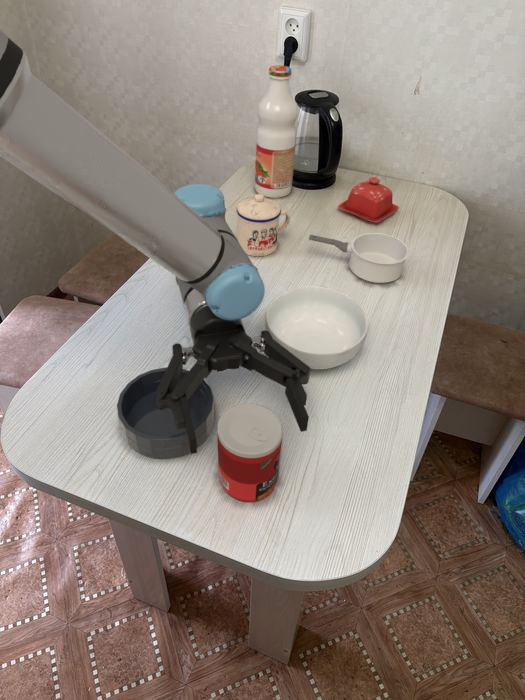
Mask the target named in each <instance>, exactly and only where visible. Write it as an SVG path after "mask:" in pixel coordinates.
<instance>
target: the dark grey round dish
mask: <svg viewBox="0 0 525 700" xmlns="http://www.w3.org/2000/svg"><path fill="white" fill-rule="evenodd" d="M167 367H168V366H167ZM167 367H160V368H154V369H150V370H148V371H146V372H143V373H140V374H138V375H137V376H135V377H134V378H133V379H131V380H130V381H129V382H128V383H127V384H126V385H125V386H124V388H123V389H122V391H121V392H120V393H119V396H118V400H117V403H116V410H117V417H118V422H119V425H120V430H121V434H122V436H123V437H124V440H125V442H126V444H127V445H128V446H129V447H130V448H131V449H132V450H134V451H135V452H136V453H137V454H139V455H142V456H144V457H146V458H150V459H155V460H171V459H177V458H181V457H184V456H187V455H189V454H191V452H190V447H189V443H188V438H187V433H186V428H184V429H177V428H176V426H175V421H174V416H173V412H172V410H171V409H169V408H166V409H164V410H159V409H157V404H156V398H155V393H156V391H157V388H158V386H159V384H160V382H161V380H162V378H163V376H164V373H165V371H166V369H167ZM189 371H190V370H188V369H184V368H183V370H182V372H181V375H180V377H179V379H178V382H177V384H176V386H175V388H176V387H177V386H178V385H179V383H180V382H181V381H182V380H183V378H184V377H185V376H186V375H187V373H188V372H189ZM174 390H175V389H174ZM188 405H189V409H190V414H191V418H192V423H193V427H194V432H195V436H196V444H197V449H199V448H200V447H201V446H202V445H203V444H204V443H205V442H206V441H207V439H208V438H209V436H210V435H211V433H212V430H213V428H214V424H215V423H214V422H215V421H214V420H215V403H214V394H213V392H212V388H211V386H210V385H209V384H208V383H207V381H206V380H205V379H204V380H203V381H202V382H201V384H200V385H199V386H198V388H197V389H196V390H195V392H194V393H193V394H192V396H191V397H190V398H189V400H188Z"/></svg>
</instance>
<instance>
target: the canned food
mask: <svg viewBox="0 0 525 700" xmlns="http://www.w3.org/2000/svg"><path fill="white" fill-rule="evenodd" d="M217 422H218V423H217V427H216V437H217V439H216V440H217V443H216V445H217V464H218V465H217V467H218V479H219V483H220V485H221V486H222V488H223V490H224V492H226V493H227V495H229V496H230V497H231V498H232V499H235V500H237V501H240V502H243V503H256V502H259V501H262V500H264V499H265V498H267V497H269V496H270V495H271V494H272V492H273V491H274V490H275V488H276V487H277V483H278V479H279V473H280V463H281V456H282V448H283V447H282V446H283V435H284V431H283V430H284V429H283V424H282V422H281V419H280V418H279V417H278V415H277V414H276V413H275V412H274V411H273V410H272V409H270V408H268V407H266V406H264V405H262V404H257V403H250V402H249V403H248V402H247V403H245V402H243V403H240V404H236V405H233V406H231V407H229V408H227V409H226V410H225V411H224V412H223V413H222V414H221V415H220V417H219V419H218V421H217Z"/></svg>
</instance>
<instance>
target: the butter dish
mask: <svg viewBox="0 0 525 700" xmlns="http://www.w3.org/2000/svg"><path fill="white" fill-rule="evenodd" d="M380 181H381V180H380V179H379V178H378V177H374V176H371V177H369V178H368V180H366V181H361V182H360V183H358V184H356V185H355V186H353V188H352V189H351V190H350V192H349V194H348V197H347V199H346V200H343V202H341V203H339V204H338V206H337V208H338V209H339V210H341V211H344V212H346V213H349V214H351V215H354V216H356V217H359V218H360V219H363V220H365V221H368V222H370V223H374V224H377V223H380V222H381V221H384V219H386V218H388V217H389V216H391V215H392V214H394V213H395V212H397V211H398V210H399V209H400V207H399V206H398V205H397V204H394V203H393V191H392V190H391V189H390V188H389V187H387V186H386V185H383V184H382V183H380Z"/></svg>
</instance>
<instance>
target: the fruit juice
mask: <svg viewBox="0 0 525 700" xmlns="http://www.w3.org/2000/svg"><path fill="white" fill-rule="evenodd" d="M268 77H269V83H268V86H267V87H268V88H267V90H266V93H265V95H264V96H263V97H262V99H261V100H260V101H259V103H258V107H257V117H258V122H259V123H258V126H257V129H256V135H255V164H254V170H255V171H254V189H255V192H256V194H262V195H263V196H264V198H269V199H277V198H278V199H279V198H284V197H286V196H288V195H290V193H291V192H292V187H293V179H294V178H293V177H294V165H295V153H296V144H297V131H296V126H295V124H296V121H297V118H298V114H299V113H298V112H299V111H298V105H297V103H296V101H295V99H294V98H293V95H292V92H291V87H290V86H291V85H290V79H291V77H292V68H291V67H290V66H287V65H280V64H279V65H276V64H275V65H271V66H269V68H268Z"/></svg>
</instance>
